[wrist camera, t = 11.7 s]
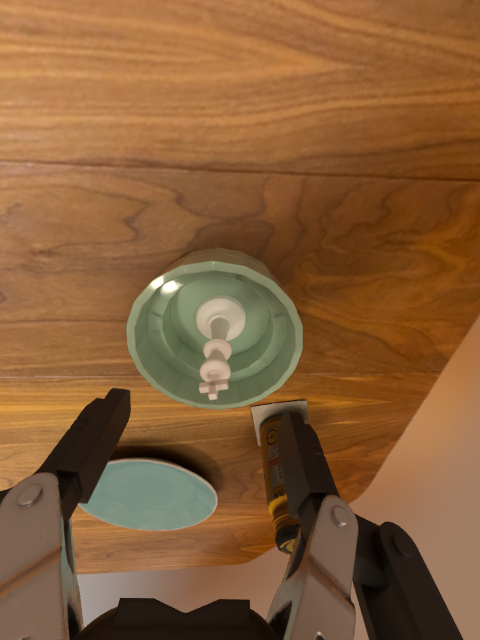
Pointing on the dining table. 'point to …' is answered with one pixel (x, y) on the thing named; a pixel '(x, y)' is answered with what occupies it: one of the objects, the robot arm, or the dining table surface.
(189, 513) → the plate
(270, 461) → the condiment
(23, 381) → the dining table surface
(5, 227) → the dining table surface
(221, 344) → the chess piece
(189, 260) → the bowl
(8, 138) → the dining table surface
